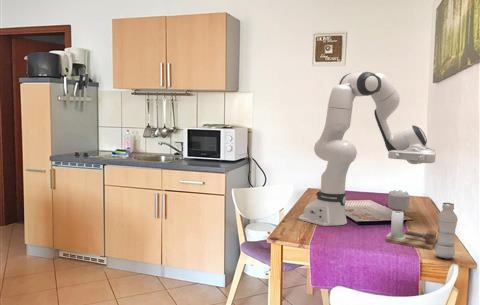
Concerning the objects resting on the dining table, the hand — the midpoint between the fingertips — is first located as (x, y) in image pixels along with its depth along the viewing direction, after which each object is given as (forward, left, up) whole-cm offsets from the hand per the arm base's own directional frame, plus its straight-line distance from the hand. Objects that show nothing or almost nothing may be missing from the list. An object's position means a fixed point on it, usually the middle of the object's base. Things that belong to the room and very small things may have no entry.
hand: (407, 157), depth 193 cm
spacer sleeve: (+2, -20, -31) cm, 37 cm away
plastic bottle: (+22, -32, -32) cm, 50 cm away
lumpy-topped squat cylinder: (-13, +41, -32) cm, 54 cm away
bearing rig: (+8, -20, -32) cm, 39 cm away
